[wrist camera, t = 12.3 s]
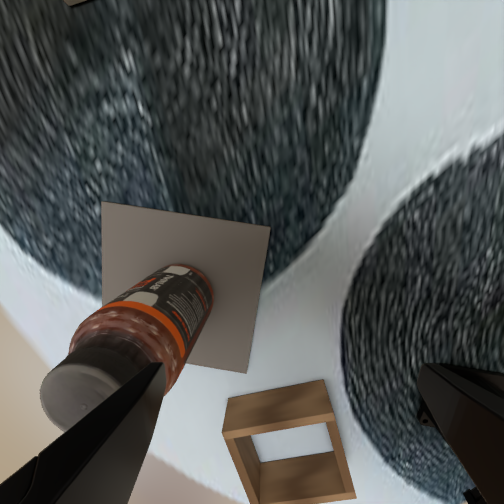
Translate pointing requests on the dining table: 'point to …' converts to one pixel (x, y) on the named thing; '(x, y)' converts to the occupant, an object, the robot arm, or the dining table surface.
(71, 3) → the flask
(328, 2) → the dining table surface
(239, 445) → the walnut box
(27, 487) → the robot arm
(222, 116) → the dining table surface
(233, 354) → the grey-brown square block
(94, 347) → the supplement bottle
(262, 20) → the dining table surface
